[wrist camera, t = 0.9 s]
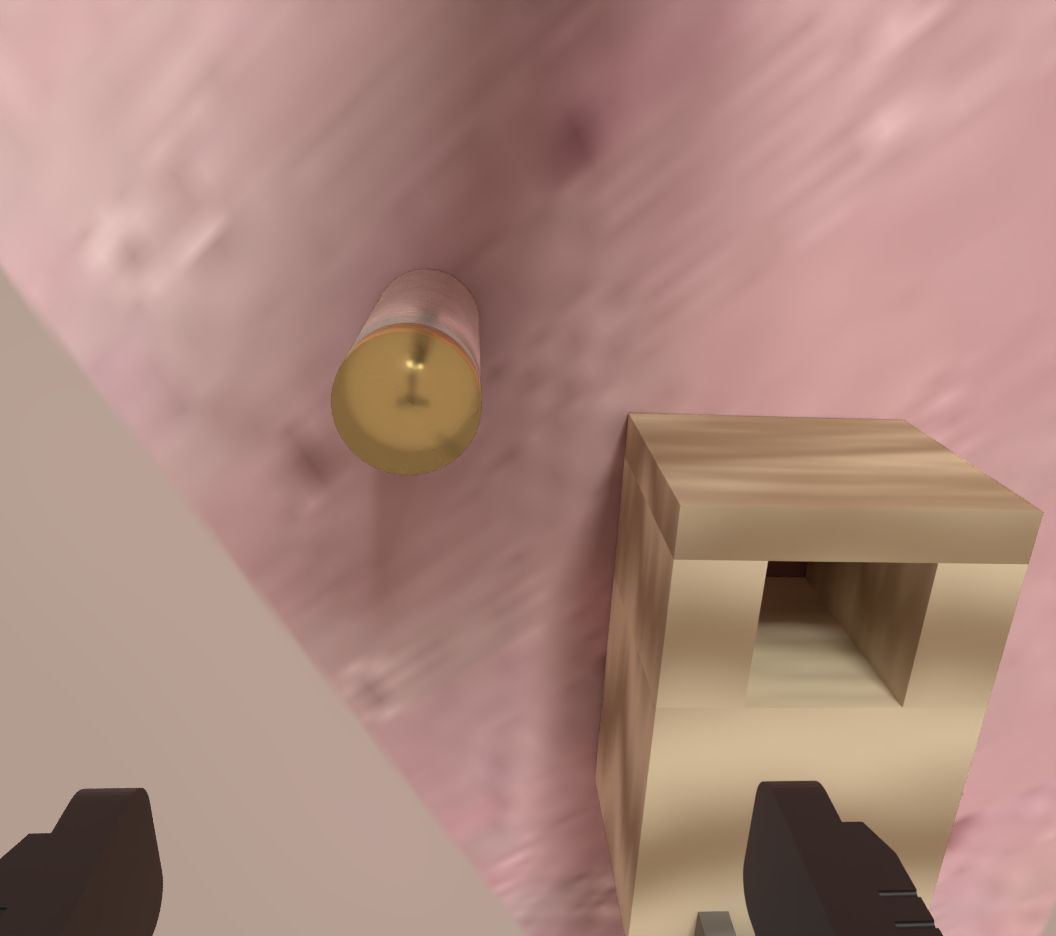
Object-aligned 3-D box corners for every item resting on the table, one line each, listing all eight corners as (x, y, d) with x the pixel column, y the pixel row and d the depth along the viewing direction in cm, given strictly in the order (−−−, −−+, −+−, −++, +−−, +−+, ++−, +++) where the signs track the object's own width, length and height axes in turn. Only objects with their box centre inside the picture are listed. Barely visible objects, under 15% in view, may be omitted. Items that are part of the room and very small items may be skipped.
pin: (374, 266, 27) (327, 329, 19) (480, 270, 28) (483, 334, 19) (377, 369, 29) (333, 473, 20) (478, 372, 29) (479, 476, 20)
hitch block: (628, 412, 30) (694, 531, 21) (904, 420, 30) (1082, 537, 22) (595, 778, 36) (635, 994, 27) (827, 777, 36) (943, 986, 27)
